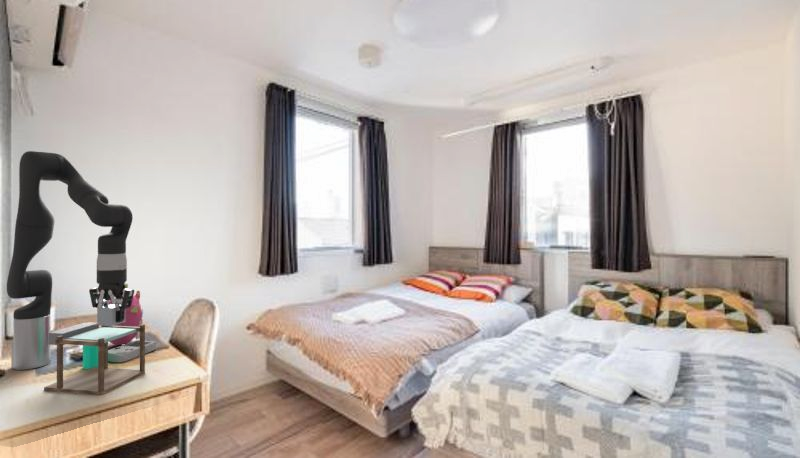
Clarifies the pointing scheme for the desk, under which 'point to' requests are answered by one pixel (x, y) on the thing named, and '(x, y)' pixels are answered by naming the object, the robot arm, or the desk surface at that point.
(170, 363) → the desk surface
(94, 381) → the frame
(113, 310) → the grey rectangular block
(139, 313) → the pink dragon fruit
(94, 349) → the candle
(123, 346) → the handheld gaming device
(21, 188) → the robot arm
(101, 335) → the trapdoor
